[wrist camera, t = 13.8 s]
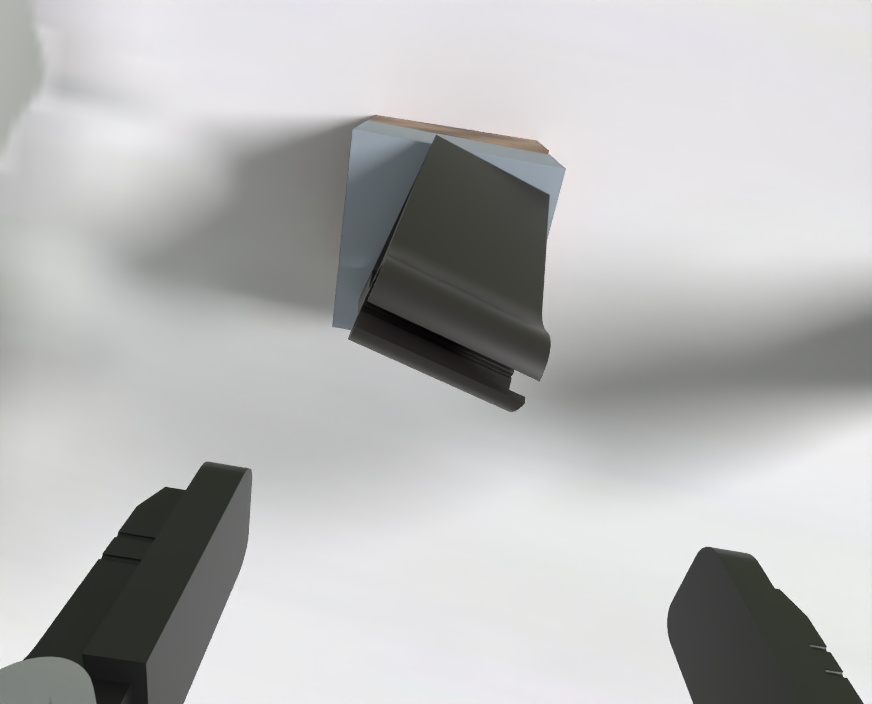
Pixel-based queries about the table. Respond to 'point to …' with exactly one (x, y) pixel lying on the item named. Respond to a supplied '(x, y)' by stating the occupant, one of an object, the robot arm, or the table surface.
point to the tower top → (389, 186)
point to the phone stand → (462, 278)
